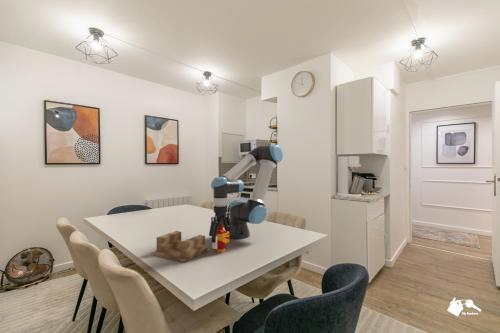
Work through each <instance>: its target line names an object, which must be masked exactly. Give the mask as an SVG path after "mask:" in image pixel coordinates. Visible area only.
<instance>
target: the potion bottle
mask: <svg viewBox="0 0 500 333" xmlns="http://www.w3.org/2000/svg"><path fill="white" fill-rule="evenodd" d="M216 236H217V249H215V251H216V252H218V253H223V252H225V251H226V247H227V246H228V245H229V243H230V239H231V238H229V233H228V232H227V231H226V230H225V229H224V223H223V222H221V224H220V225H219V228H218V231H217V235H216ZM211 242H212V239H211Z"/></svg>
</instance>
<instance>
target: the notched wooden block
mask: <svg viewBox="0 0 500 333" xmlns="http://www.w3.org/2000/svg"><path fill="white" fill-rule="evenodd" d="M208 251H209V249H208V247H206V236H205V235H201V234H198V235H196V236H193V237H190V238H188V239H185V240H182V231H179V230H175V231H173V232H169V233H166V234H162V235H160V236H157V237H156V250H155V251H152V252H153V253H152V254H153V256H156V257H160V258H164V259H167V260H168V259H169V260H172V261H176V262H180V263H184V264H185V263H186V262H188V261H190V260H192V259H195V258H196V257H199V256H200V255H202V254H204V253H206V252H208Z"/></svg>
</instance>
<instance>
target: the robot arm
mask: <svg viewBox="0 0 500 333" xmlns="http://www.w3.org/2000/svg"><path fill="white" fill-rule="evenodd" d="M282 160H283V150H282V148H281V147H280V145H278V144H270V145H268V144H267V145H260V146H257V147H255V148H252V149H251V150H250V151H248V153H246V154H245V156H244V158H243V159H241V160H239V162H238V163H236V164H235V165H234V166H233V167H231V169H229V170H228V171H227V172H225V173H224V174H223V175H222V176H219V177H217V176H216V177H214V178H213V179H212V181H211V183H210V186H211V187H210V188H211V189H212V190H213V191H212V192H213V213H215V214H214V216H211V217H210V227H209V233H208V236H209V237H211V240H212V241H211V242H212V243H211V246H212V247H211V248H212V249H215V250H217V236H216V235H217V231H218V228H219V225H220V224H221V222H223V223H224V227H223V229H224V230H225V231H227V232H228V233H229V239H236V240H240V239H241V240H242V239H247V238H249V237H250V236H251V235H250V234H251V233H250V229H249V226H248V223H249V224H252V225H260V224H262V223H263V222H264V221H265V219H266V218H267V213H268V212H267V208H266V204H265V198H266V195H267V191H268V188H269V184H270V181H271V178H272V174H273V172H274V169H275V168H277V165H278V163H280V162H282ZM259 163H260V167H259V171H258V174H257V177H256V179H255V184H254V187H253V189H252V193H251V196H250V198H248V199H247V200H237V201H231V202H229V208H228V194H235V193H236V194H237V193H242V192H243V191H244V189H245V184H244V182H243V180H241V179H239V178H240V177H241V176H242V175H243V174H245V172H247V170H249V169H250V168H251V167H254V166H256V165H257V164H259ZM228 209H229V210H228Z"/></svg>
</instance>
